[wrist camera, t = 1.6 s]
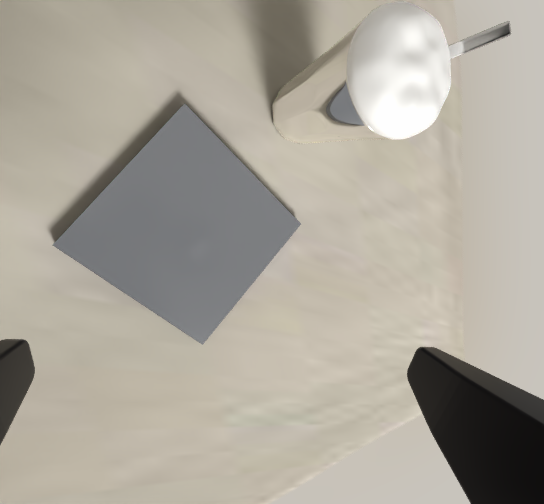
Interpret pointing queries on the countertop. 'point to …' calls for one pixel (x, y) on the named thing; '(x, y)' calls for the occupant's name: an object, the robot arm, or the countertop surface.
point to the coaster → (182, 227)
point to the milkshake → (376, 79)
